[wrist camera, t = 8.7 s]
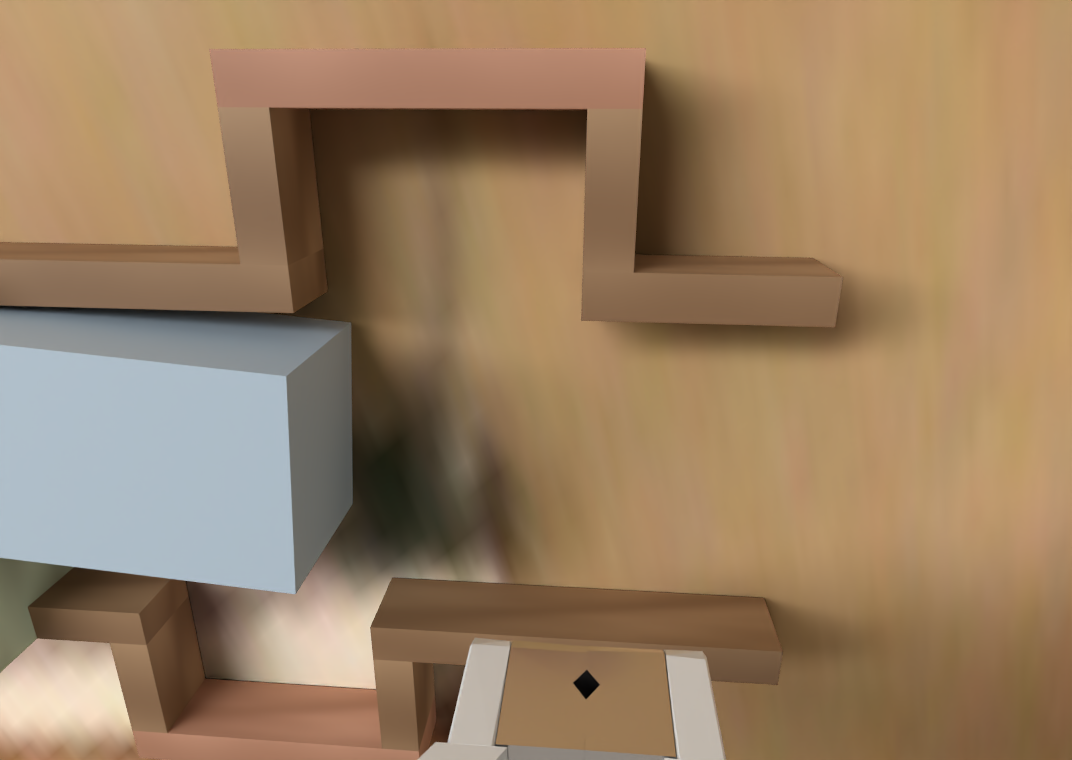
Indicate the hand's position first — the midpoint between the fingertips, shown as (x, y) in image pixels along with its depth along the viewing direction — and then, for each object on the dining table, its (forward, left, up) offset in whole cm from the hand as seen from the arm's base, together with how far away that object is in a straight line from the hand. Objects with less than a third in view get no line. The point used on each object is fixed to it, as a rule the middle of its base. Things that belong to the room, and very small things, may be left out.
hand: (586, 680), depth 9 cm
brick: (0, -10, -9) cm, 13 cm away
